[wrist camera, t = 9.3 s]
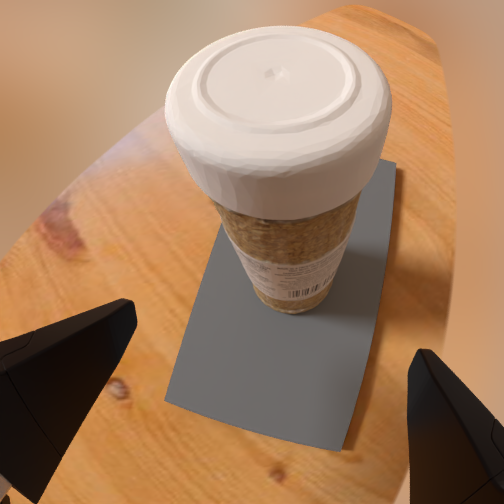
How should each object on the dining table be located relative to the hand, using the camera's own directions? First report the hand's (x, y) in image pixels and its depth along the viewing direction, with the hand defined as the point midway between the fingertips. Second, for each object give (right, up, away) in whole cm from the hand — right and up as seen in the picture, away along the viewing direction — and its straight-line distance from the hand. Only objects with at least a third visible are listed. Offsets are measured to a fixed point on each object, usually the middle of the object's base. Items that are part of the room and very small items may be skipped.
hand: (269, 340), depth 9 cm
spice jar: (+2, +1, +9) cm, 9 cm away
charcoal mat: (+2, +1, +9) cm, 9 cm away
